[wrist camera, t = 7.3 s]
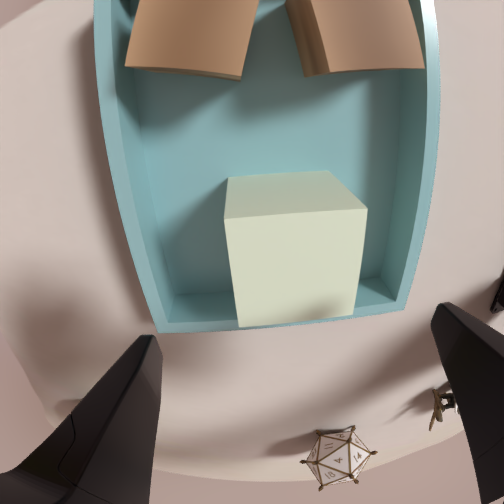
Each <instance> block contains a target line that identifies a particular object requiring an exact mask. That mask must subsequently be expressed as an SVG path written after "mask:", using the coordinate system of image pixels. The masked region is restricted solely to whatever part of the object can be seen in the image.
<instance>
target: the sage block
mask: <svg viewBox="0 0 504 504" xmlns="http://www.w3.org/2000/svg"><path fill="white" fill-rule="evenodd" d="M367 211H368V208H367V207H366V206H365V205H364V204H363V203H362V202H361V201H360V200H359V199H358V198H357V197H356V196H355V195H354V194H353V193H352V192H351V191H350V190H349V189H347V188H346V187H345V186H344V185H343V184H342V183H341V182H340V181H339V180H338V179H337V178H336V177H335V176H334V175H333V174H332V173H331V172H329V171H307V172H289V173H273V174H260V175H248V176H237V177H228V184H227V193H226V203H225V213H224V224H225V232H226V239H227V247H228V254H229V261H230V269H231V276H232V283H233V290H234V297H235V304H236V310H237V317H238V324H239V327H251V326H263V325H273V324H283V323H293V322H301V321H310V320H318V319H325V318H333V317H340V316H347V315H353V310H354V305H355V299H356V293H357V288H358V281H359V275H360V268H361V262H362V254H363V247H364V239H365V230H366V221H367Z"/></svg>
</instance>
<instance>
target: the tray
mask: <svg viewBox="0 0 504 504" xmlns="http://www.w3.org/2000/svg"><path fill="white" fill-rule="evenodd" d="M285 1H286V0H259V4H258V8H257V12H256V16H255V20H254V24H253V28H252V32H251V36H250V40H249V45H248V49H247V53H246V58H245V62H244V66H243V71H242V76H241V80H240V82H238V81H232V80H225V79H218V78H211V77H203V76H194V75H183V74H171V73H155V72H151V71H146V70H141V69H136V68H131V67H126V66H125V61H126V56H127V51H128V46H129V42H130V37H131V33H132V28H133V24H134V20H135V16H136V13H137V9H138V5H139V2H140V0H94V47H95V64H96V76H97V86H98V96H99V104H100V112H101V119H102V126H103V132H104V138H105V144H106V150H107V155H108V161H109V166H110V171H111V176H112V181H113V185H114V190H115V194H116V198H117V203H118V207H119V211H120V215H121V219H122V223H123V226H124V230H125V234H126V238H127V241H128V245H129V248H130V252H131V255H132V258H133V262H134V265H135V268H136V271H137V275H138V278H139V281H140V284H141V287H142V290H143V293H144V296H145V299H146V302H147V304H148V307H149V310H150V313H151V316H152V318H153V321H154V324H155V326H156V329H157V332H158V333H191V332H214V331H232V330H247V329H260V328H272V327H283V326H293V325H302V324H311V323H320V322H328V321H336V320H343V319H350V318H357V317H364V316H371V315H377V314H383V313H389V312H395V311H400V310H404V308H405V305H406V301H407V298H408V295H409V292H410V288H411V285H412V282H413V278H414V274H415V271H416V267H417V263H418V259H419V255H420V251H421V247H422V243H423V238H424V234H425V229H426V224H427V219H428V214H429V209H430V203H431V197H432V191H433V184H434V177H435V169H436V160H437V150H438V139H439V123H440V58H439V44H438V33H437V24H436V16H435V9H434V3H433V0H408V2H409V5H410V8H411V11H412V15H413V18H414V22H415V26H416V30H417V34H418V38H419V42H420V47H421V51H422V56H423V61H424V67H425V69H396V70H381V71H361V72H348V73H337V74H328V75H320V76H312V77H305V78H304V73H303V69H302V65H301V61H300V57H299V53H298V50H297V46H296V42H295V38H294V35H293V31H292V28H291V24H290V21H289V17H288V14H287V11H286V7H285V4H284V3H285ZM307 171H329V172H331V173H332V174H333V175H334V176H335V177H336V178H337V179H338V180H339V181H340V182H341V183H342V184H343V185H344V186H345V187H346V188H347V189H349V190H350V191H351V192H352V193H353V194H354V195H355V196H356V197H357V198H358V199H359V200H360V201H361V202H362V203H363V204H364V205H365V206H366V207H367V208H368V211H367V221H366V230H365V239H364V247H363V254H362V262H361V268H360V275H359V281H358V288H357V293H356V299H355V305H354V310H353V315H347V316H340V317H333V318H325V319H318V320H310V321H301V322H293V323H283V324H273V325H263V326H251V327H239V324H238V317H237V310H236V304H235V297H234V290H233V283H232V276H231V269H230V261H229V254H228V247H227V239H226V232H225V224H224V213H225V203H226V193H227V184H228V177H237V176H248V175H260V174H273V173H289V172H307Z"/></svg>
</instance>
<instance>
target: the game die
mask: <svg viewBox="0 0 504 504" xmlns="http://www.w3.org/2000/svg"><path fill="white" fill-rule="evenodd" d="M355 429H356V428H355V426H353V427H352V429H351V431H347V432H340V433H332V434H323V435H322V434H321V432H320V431H318V430H317V433H316V434H318V435H319V438H318V440H317V442H316V444H315V446H314V447H313V449H312V451H311V453H310V455H309V456H308V458H307V460H302V461H300V463H302V464H303V463H304V464H305V463H307V465H308V466H309V468H310V469H311V471H312V472H313V474H314V475H315V477H316V478H317V480H318V481H319V482H320V484H321V486H320V487H319V491H321V490H322V489H323V486H327V485H333V484H338V483H344V482H349V481H354V482H355V483H356V484H358V482H359V481H358V480H356V478H357V477H358V475H359V473H360V472H361V470H362V469H363V467H364V465H365V464H366V462H367V460H368V459H369V457H370V455H374V454H376V453H378V452H377V451H373V452H370V451H369V450H368V449H367V447H366V446H365V445H364V444H363V443H362V442H361V440H360V439H359V438H358V437H357V436H356V434H355V433H354V432H353V431H354V430H355Z"/></svg>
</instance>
